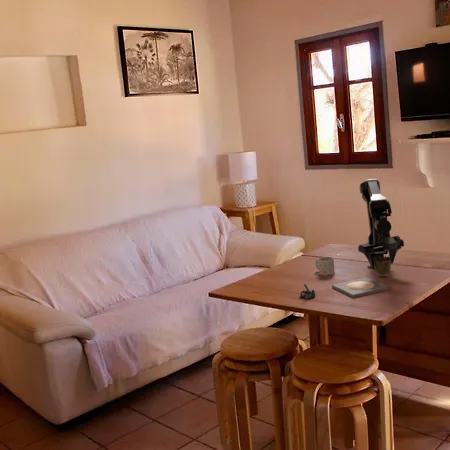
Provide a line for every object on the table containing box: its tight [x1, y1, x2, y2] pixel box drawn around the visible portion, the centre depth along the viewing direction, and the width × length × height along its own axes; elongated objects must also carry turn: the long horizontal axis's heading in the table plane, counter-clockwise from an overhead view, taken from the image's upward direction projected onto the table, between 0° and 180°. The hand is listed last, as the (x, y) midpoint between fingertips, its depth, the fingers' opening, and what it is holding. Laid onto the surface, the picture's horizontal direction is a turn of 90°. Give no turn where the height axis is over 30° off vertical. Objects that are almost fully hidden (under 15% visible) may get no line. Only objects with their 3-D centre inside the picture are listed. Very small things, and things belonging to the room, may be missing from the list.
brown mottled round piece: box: [373, 255, 392, 279], centre depth 244 cm, size 8×7×8 cm
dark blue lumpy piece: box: [299, 283, 316, 301], centre depth 229 cm, size 8×7×8 cm
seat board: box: [331, 277, 390, 299], centre depth 232 cm, size 16×16×1 cm
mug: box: [315, 256, 336, 277], centre depth 259 cm, size 10×7×7 cm
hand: (382, 265), depth 244 cm, fingers open, 9 cm apart
